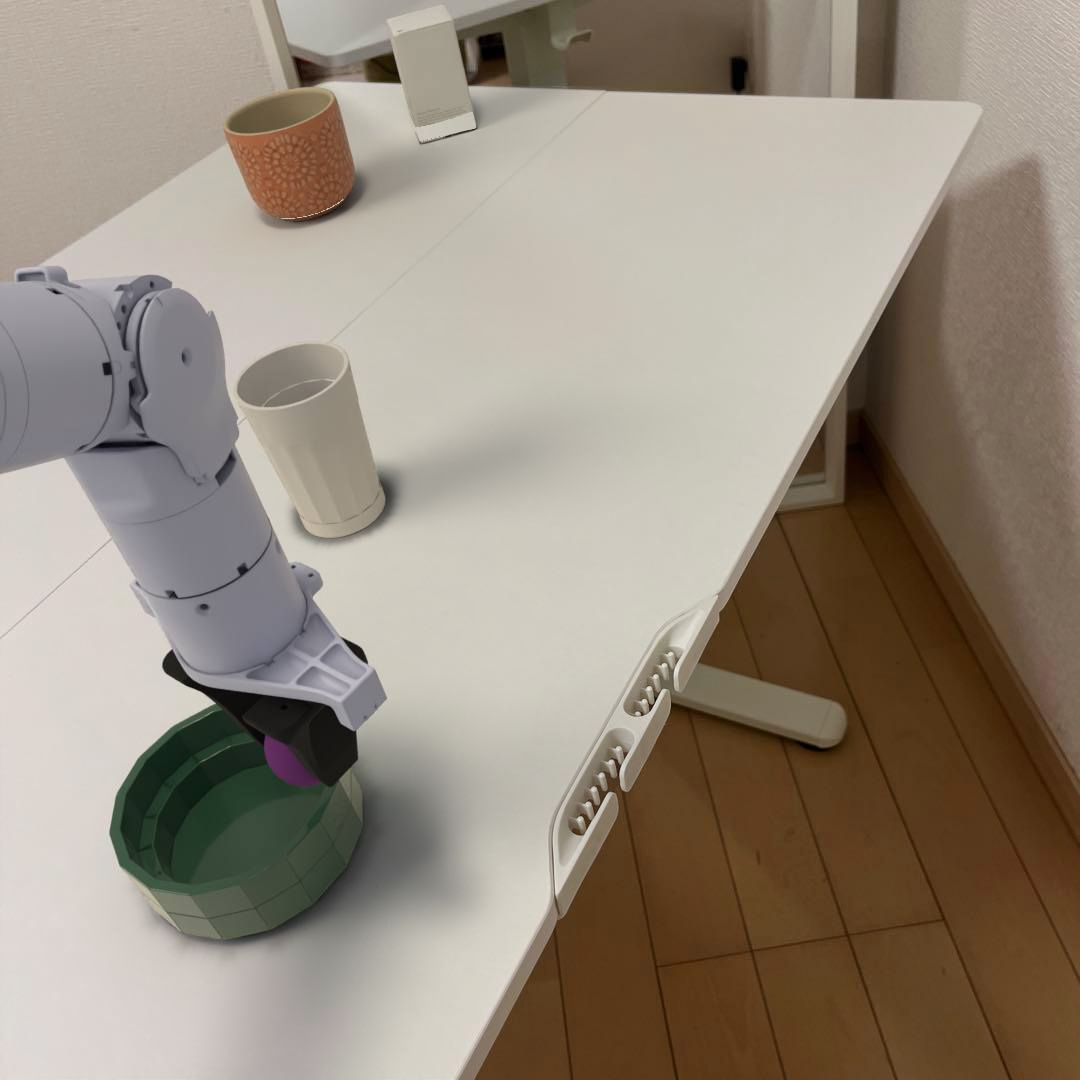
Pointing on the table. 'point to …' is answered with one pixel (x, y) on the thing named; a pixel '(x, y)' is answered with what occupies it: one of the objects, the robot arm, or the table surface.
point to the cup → (314, 434)
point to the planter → (292, 152)
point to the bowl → (228, 831)
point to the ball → (286, 764)
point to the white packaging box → (430, 65)
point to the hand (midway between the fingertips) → (310, 752)
